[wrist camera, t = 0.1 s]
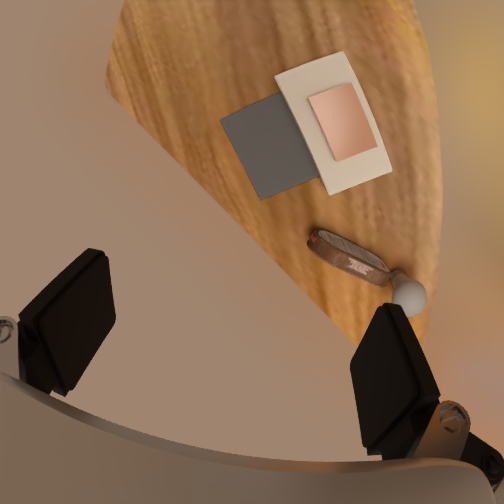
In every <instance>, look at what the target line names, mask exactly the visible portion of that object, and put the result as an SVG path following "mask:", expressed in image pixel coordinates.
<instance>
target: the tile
mask: <svg viewBox="0 0 504 504" xmlns="http://www.w3.org/2000/svg"><path fill="white" fill-rule="evenodd" d="M307 100H308V102H309V104H310V106H311V108H312V110H313V113H314V115H315V117H316V119H317V121H318V123H319V126H320V128H321V130H322V132H323V135H324V137H325V139H326V141H327V144H328V146H329V148H330V151H331V153H332V156H333V158H334V160H335V161H336V162H338V161H341V160H344V159H346V158H349V157H351V156H354V155H357V154H359V153H362V152H364V151H367V150H370V149H372V148H375V147H378V146H377V143H376V140H375V138H374V135H373V132H372V130H371V127H370V125H369V122H368V120H367V117H366V115H365V112H364V110H363V108H362V105H361V103H360V101H359V98H358V96H357V94H356V92H355V89H354V87H353V85H352V83H348V84H345V85H342V86H339V87H336V88H333V89H331V90H328V91H325V92H322V93H320V94H317V95H314V96H312V97H309V98H307Z"/></svg>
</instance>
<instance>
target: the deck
mask: <svg viewBox="0 0 504 504" xmlns="http://www.w3.org/2000/svg"><path fill="white" fill-rule="evenodd" d="M274 77H275V81H276V83H277V85H278V87H279V89H280V91H281V93H282V95H283V97H284V99H285V101H286V103H287V105H288V107H289V109H290V111H291V113H292V115H293V117H294V119H295V121H296V123H297V125H298V127H299V130H300V132H301V134H302V136H303V138H304V140H305V143H306V145H307V147H308V149H309V151H310V154H311V156H312V158H313V161H314V163H315V165H316V167H317V170H318V172H319V175H320V177H321V179H322V182H323V184H324V187H325V189H326V190H327V192H328V194H329V196H330V195H333V194H335V193H338V192H340V191H343V190H345V189H348V188H350V187H353V186H355V185H358V184H361V183H363V182H366V181H368V180H371V179H373V178H376V177H379V176H381V175H384V174H386V173H389V172H392V171H393V170H392V167H391V164H390V161H389V158H388V155H387V152H386V149H385V146H384V144H383V141H382V138H381V135H380V133H379V130H378V127H377V125H376V122H375V120H374V117H373V115H372V112H371V110H370V107H369V105H368V103H367V100H366V98H365V96H364V93H363V91H362V89H361V87H360V84H359V82H358V80H357V78H356V76H355V74H354V72H353V70H352V68H351V65H350V63H349V61H348V59H347V57H346V56H345V54H344V52H343V51H341V52H338V53H335V54H332V55H329V56H326V57H323V58H320V59H317V60H314V61H312V62H309V63H306V64H303V65H301V66H298V67H296V68H293V69H290V70H288V71H285V72H283V73H281V74H278V75H276V76H274ZM348 83H352V85H353V87H354V89H355V92H356V94H357V96H358V98H359V101H360V103H361V105H362V108H363V110H364V112H365V115H366V117H367V120H368V122H369V125H370V127H371V130H372V132H373V135H374V138H375V140H376V143H377V146H378V147H375V148H372V149H370V150H367V151H364V152H362V153H359V154H357V155H354V156H351V157H349V158H346V159H344V160H341V161H338V162H336V161H335V160H334V158H333V156H332V153H331V151H330V148H329V146H328V144H327V141H326V139H325V137H324V135H323V132H322V130H321V128H320V126H319V123H318V121H317V119H316V117H315V115H314V113H313V110H312V108H311V106H310V104H309V102H308V100H307V98H309V97H312V96H314V95H317V94H320V93H322V92H325V91H328V90H331V89H333V88H336V87H339V86H342V85H345V84H348Z"/></svg>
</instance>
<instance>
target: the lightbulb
mask: <svg viewBox="0 0 504 504" xmlns="http://www.w3.org/2000/svg"><path fill="white" fill-rule="evenodd" d="M390 278H391V281H392V286H393V288H394V290H393V294H392V303H393V304H399V305H401V306H402V308H403V310H404V312H405V314H406V316H407V317H413V316H416V315H418V314H419V313H420V312H421V311H422V310H423V309H424V307H425V305H426V302H427V293H426V290H425V288H424V286H423V285H422V284H421V283H420V282H418V281H416V280H412V279H409V278H408V277H407V276H406V275H404V274H403V272H402V271H401V270H394V271H393V272H392V275H391V277H390Z"/></svg>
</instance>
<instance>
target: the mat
mask: <svg viewBox="0 0 504 504" xmlns="http://www.w3.org/2000/svg"><path fill="white" fill-rule="evenodd" d="M220 122H221V124H222V126H223V128H224V130H225V132H226V134H227V135H228V137H229V139H230V141H231V143H232V145H233V147H234V149H235V151H236V153H237V155H238V157H239V159H240V161H241V163H242V165H243V167H244V169H245V171H246V173H247V175H248V177H249V178H250V180H251V182H252V184H253V186H254V188H255V190H256V192H257V195H258V197H259V199H260V201H261V200H263V199H265V198H267V197H270V196H272V195H275V194H277V193H279V192H282V191H284V190H286V189H289V188H291V187H294V186H296V185H298V184H301V183H303V182H306V181H308V180H311V179H313V178H315V177H318V176H320V175H319V172H318V170H317V167H316V165H315V163H314V161H313V158H312V156H311V154H310V151H309V149H308V147H307V145H306V143H305V140H304V138H303V136H302V134H301V132H300V130H299V127H298V125H297V123H296V121H295V119H294V117H293V115H292V113H291V111H290V109H289V107H288V105H287V103H286V101H285V99H284V97H283V95H282V93H281V92H279V93H277V94H274V95H272V96H270V97H267V98H265V99H263V100H261V101H258V102H256V103H254V104H252V105H250V106H248V107H245V108H243V109H241V110H239V111H237V112H235V113H233V114H231V115H229V116H227V117H225V118H223V119H221V120H220Z"/></svg>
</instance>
